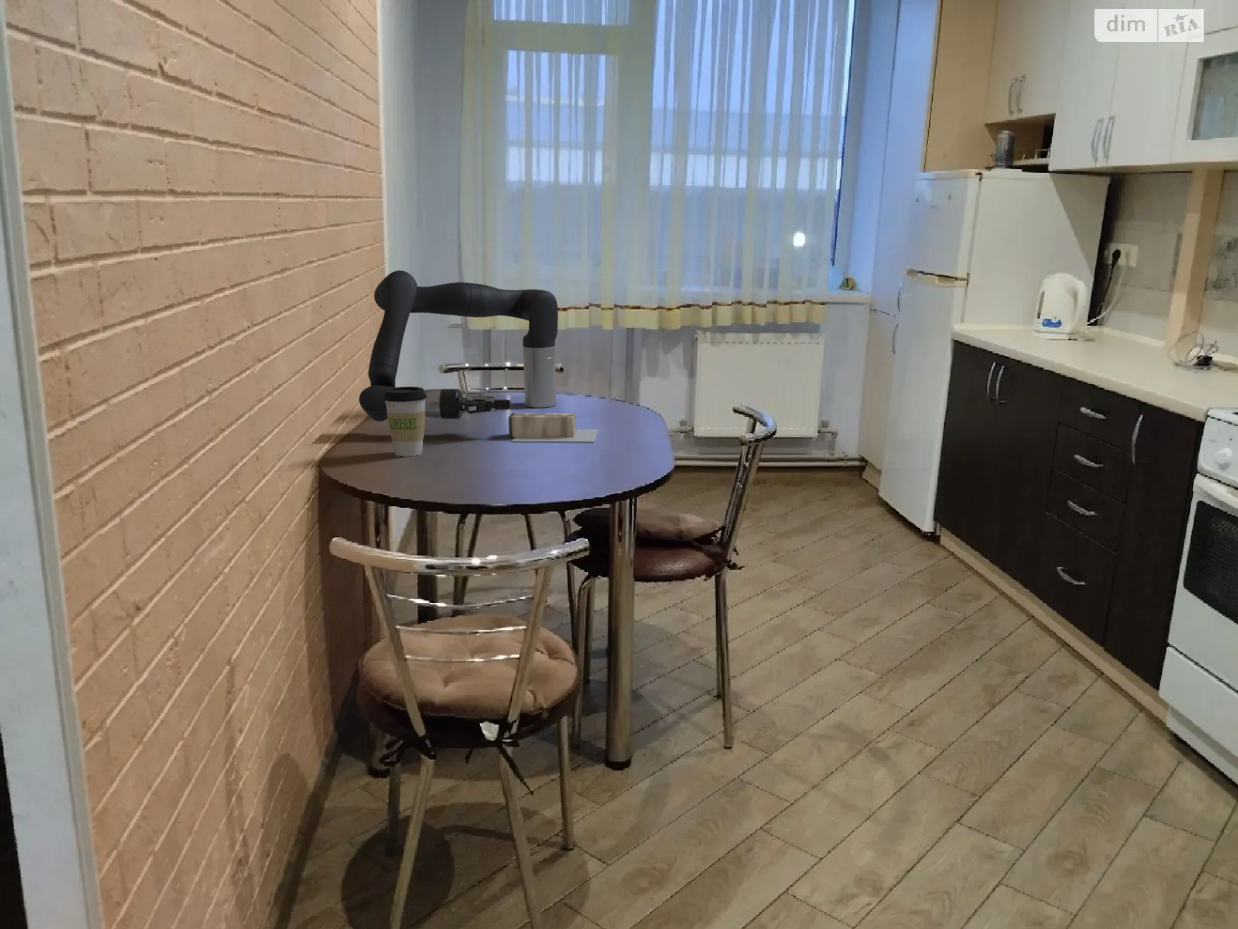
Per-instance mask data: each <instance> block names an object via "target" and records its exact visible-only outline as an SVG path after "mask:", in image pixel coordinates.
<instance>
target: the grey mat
mask: <svg viewBox="0 0 1238 929" xmlns="http://www.w3.org/2000/svg"><path fill="white" fill-rule="evenodd" d="M575 429H576V433H575V435H574V437H513V439H512V440H511V442H512V443H581V444H582V443H585V444H586V443H587V444H588V443H590V444H591V443H595V441H596V439H597V436H598V434H599V432H600V429H593V428H592V429H591V428H589V429H585V428H583V429H582V428H580V429H579V428H578V429H577V428H575Z"/></svg>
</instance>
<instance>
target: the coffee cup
mask: <svg viewBox="0 0 1238 929" xmlns="http://www.w3.org/2000/svg"><path fill="white" fill-rule="evenodd" d="M424 390H425V389H424V388H423V387H421V386H420V387H419V386H399V387H398V386H397V387H396V388H390V389H387V390H386V392H385V395H384V396H383V397H384V398H383V400H385V402H386V408H387V411H386V412H387V417H388V419H387V421H388V427H389V432H390V438H391V441H392V446H393V450H394V456H396V455H398V456H397V457H400V456H403V457H404V458H405V457H406V458H407V457H409V458H410V456H411V457H417V456H420V455H422V454H423V447H424V446H423V443H424V442H423V440H424V437H425V421H426V420H425V419H426V418H425V399H426V398H427V396H426V393H425V392H424ZM416 455H417V456H416ZM403 457H402V458H403Z"/></svg>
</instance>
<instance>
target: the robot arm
mask: <svg viewBox="0 0 1238 929" xmlns="http://www.w3.org/2000/svg"><path fill="white" fill-rule="evenodd" d="M374 290H375V291H374V292H373V293H374V294H373V298H374V301H375V304H376V305H377V306H378V307H379V308H380V309H381V310H383V311H384V312H383V313H384V314H383V316H382V317H383V318H382V321H381V324H380V327H379V330H378V333H377V334H376V338H375V340H374V343H373V347H372V350H371V355H370V358H369V359H370V360H369V365H368V373H367V374H368V379H369V383H370V384H369V385H370V386H367V387H365V388H364V389H363V390H362V391H361V392H360V394H359V397H358V403H359V405H360V407H361V409H362V410H363V411H364V412H365V414H367V416H368V417H369V418H370V419H371V420H373V421H375V422H384V421H388V417H387V412H386V411H387V408H386V402H385V400H383V398H384V397H383V396H384V395H385V392H386V390H387V389H390V388H396V378H397V374H398V368H399V363H400V357H401V356H400V355H401V351H402V350H401V349H402V347H403V340H404V336H405V333H406V332H405V331H406V328H407V324H408V321H409V317H410V315H411V314H422V313H424V314H436V315H444V316H445V315H446V316H456V317H465V318H488V317H489V318H490V317H491V318H492V317H497V316H501V317H502V316H504V317H511V318H516V319H521V320H525V321H528V332H527V333H526V334H525V335H524V336H523V338H522V357H523V360H522V361H523V383H524V384H523V386H524V388H523V389H524V390H523V392H524V394H523V395H524V406H526V407H527V408H528V407H529V408H549V407H550V408H551V407H554V406H556V405H557V375H556V374H557V370H556V367H557V366H556V339H557V336H558V330H559V329H558V328H559V326H558V325H559V308H558V307H559V306H558V302H557V298H556V297H555V295H554V294H553V293H552V292H550V291H548V290H544V289H537V288H536V289H535V288H534V289H533V288H532V289H531V288H530V289H501V288H498V287H494V286H491V285H486V284H481V283H476V282H475V283H474V282H465V281H464V282H463V281H455V282H448V283H442V284H441V283H440V284H437V285H432V286H431V285H429V286H418V282H417V281H416V278H414V276H413V275H412V274H411V273H409V272H407V271H405V270H400V269H399V270H394V271H392V272H391V273H389V274H387V275H386V276H385V277H384V278H383V279H382V280H381V282H379V284H377V286H376V288H375V289H374ZM424 392H425V393H426V396H427V398H426V399H425V419H432V420H460V419H461V418H462V415H463V412H466V413H467V414H469V415H472V414H479V413H489V412H491V411H495V410H509V409H511V408H512V401H511V399H496V398H495V397H494V396H487V395H483V394H477V395H476V394H475V395H474V394H469V395H468V396H466V397H463V393H462V391H461V389H460V388H459V389H458V388H429V389H428V388H427V389H424Z"/></svg>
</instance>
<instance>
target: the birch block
mask: <svg viewBox="0 0 1238 929" xmlns="http://www.w3.org/2000/svg"><path fill="white" fill-rule="evenodd" d="M576 429H577V428H576V413H573V412H572V413H571V412H570V413H565V412H564V413H561V412H559V413H557V412H556V413H553V412H552V413H550V412H549V413H548V412H547V413H546V412H543V413H542V412H541V413H540V412H537V413H536V412H532V413H531V412H529V413H528V412H525V413H524V412H511V414H510V415H509V416H508V437H509V438H515V437H574V435H575V433H576Z"/></svg>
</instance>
